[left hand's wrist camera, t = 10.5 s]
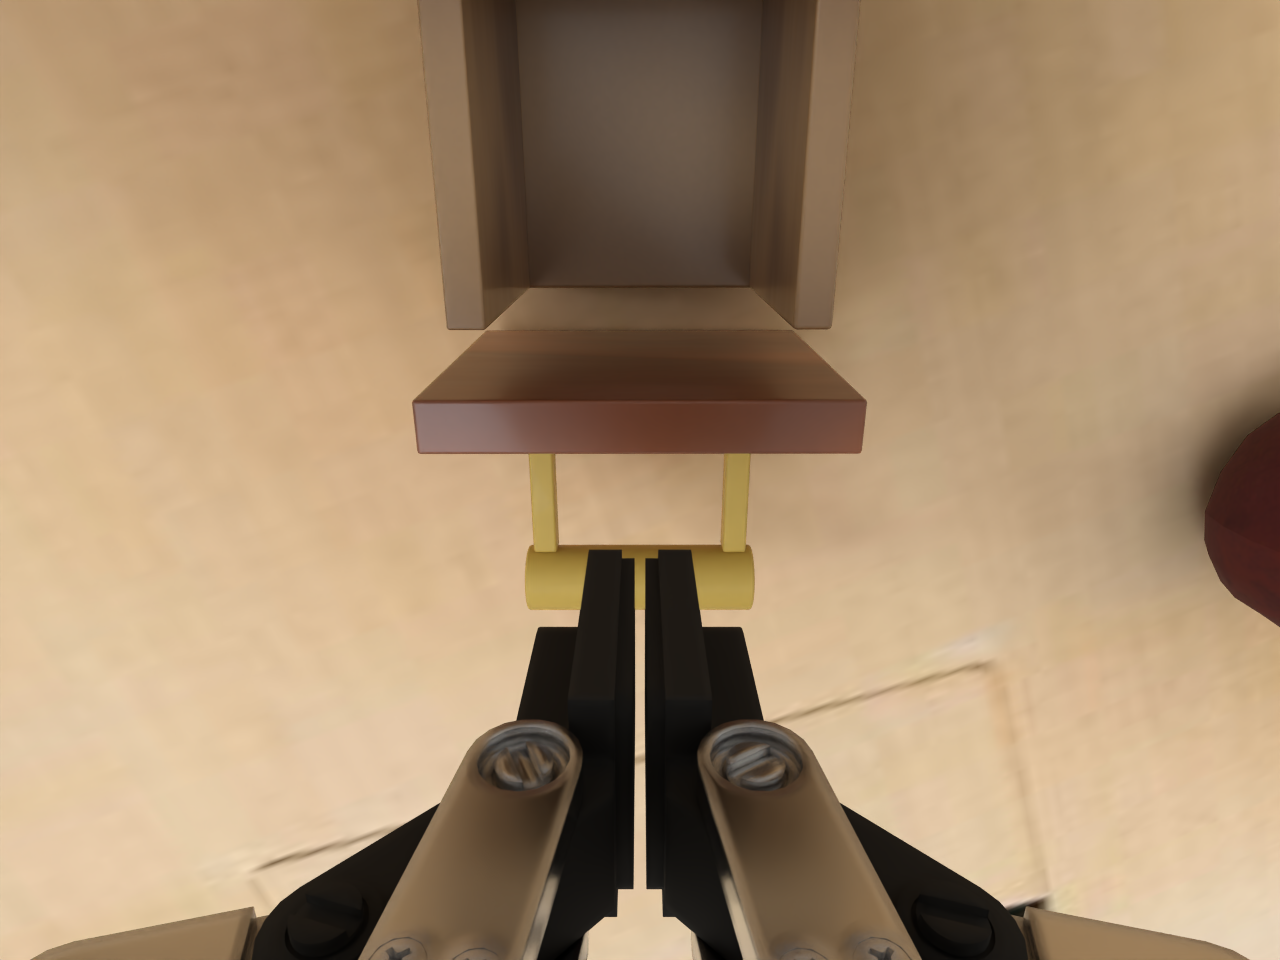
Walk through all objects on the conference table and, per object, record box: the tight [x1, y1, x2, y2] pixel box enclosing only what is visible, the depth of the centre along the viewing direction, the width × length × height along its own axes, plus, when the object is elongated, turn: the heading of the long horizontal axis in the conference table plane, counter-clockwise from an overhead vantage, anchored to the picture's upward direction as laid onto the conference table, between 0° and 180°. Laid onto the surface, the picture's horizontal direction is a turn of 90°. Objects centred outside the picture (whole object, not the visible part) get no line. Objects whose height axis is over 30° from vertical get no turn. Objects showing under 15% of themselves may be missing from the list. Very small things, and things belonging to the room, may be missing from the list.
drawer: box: [412, 0, 867, 610], centre depth 18 cm, size 23×10×8 cm, turn 0°
